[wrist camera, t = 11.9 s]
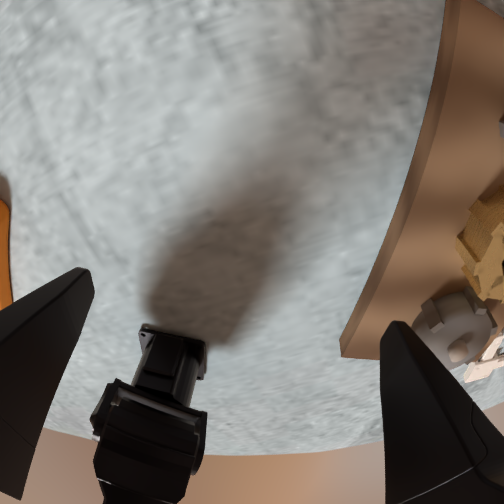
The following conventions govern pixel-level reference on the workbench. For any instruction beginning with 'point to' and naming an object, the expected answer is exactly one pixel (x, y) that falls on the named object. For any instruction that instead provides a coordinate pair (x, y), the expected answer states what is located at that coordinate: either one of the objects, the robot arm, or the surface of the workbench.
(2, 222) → the multimeter
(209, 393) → the workbench surface
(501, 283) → the brass gear
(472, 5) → the gear board
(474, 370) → the corner connector
